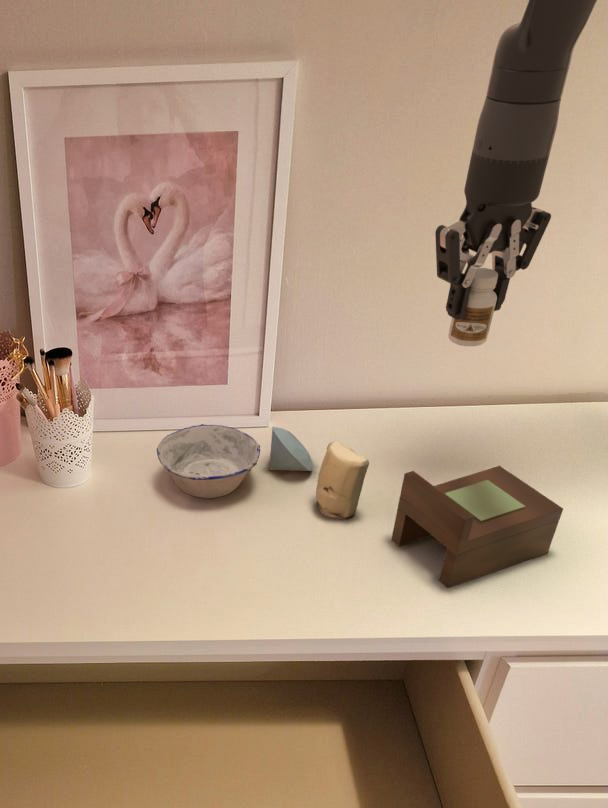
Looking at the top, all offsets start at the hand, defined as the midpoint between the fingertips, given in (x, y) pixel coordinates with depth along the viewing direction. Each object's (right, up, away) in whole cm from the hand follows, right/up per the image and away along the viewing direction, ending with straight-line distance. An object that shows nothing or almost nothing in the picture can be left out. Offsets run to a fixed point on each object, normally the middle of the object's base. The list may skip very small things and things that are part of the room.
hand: (473, 312), depth 100 cm
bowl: (-30, -18, +12) cm, 36 cm away
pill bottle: (0, -3, +2) cm, 4 cm away
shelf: (-1, -27, -1) cm, 27 cm away
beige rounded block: (-14, -22, +6) cm, 27 cm away
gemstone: (-19, -15, +13) cm, 28 cm away
